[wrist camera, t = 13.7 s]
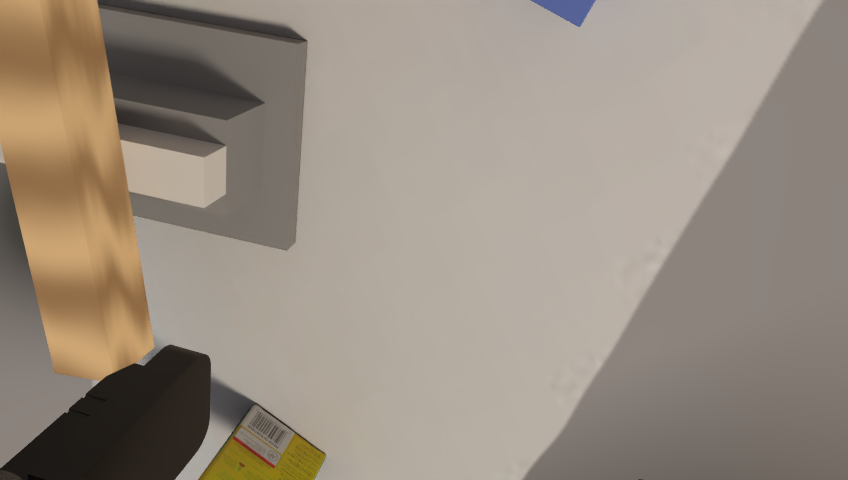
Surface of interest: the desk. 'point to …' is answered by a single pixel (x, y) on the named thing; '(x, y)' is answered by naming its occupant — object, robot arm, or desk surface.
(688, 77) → the desk surface
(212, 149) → the balance stand
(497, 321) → the desk surface
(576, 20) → the walkman
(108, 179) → the oak bar
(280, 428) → the crayon box
